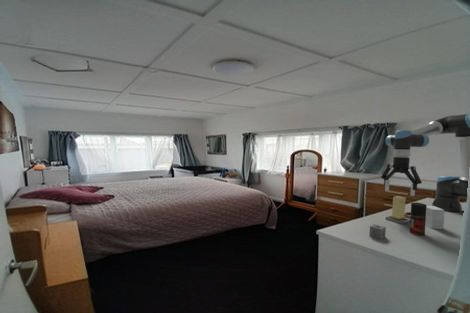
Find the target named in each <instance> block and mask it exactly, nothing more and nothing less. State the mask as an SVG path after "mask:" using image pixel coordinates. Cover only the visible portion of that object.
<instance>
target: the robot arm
mask: <svg viewBox="0 0 470 313" xmlns="http://www.w3.org/2000/svg"><path fill="white" fill-rule="evenodd" d="M394 132H395V133H394V134H391V135H387V136H386V137H385V145H386V146H388V147H393V157H392V158H393V159H392V160H393V161H392V163H393V164H392V163H388V164H386V168H385V170H384V171H383V173H382V175H381V176H380V178H381V179H383V180H384V181H383V184H384V191H385V192H389V191H390V178H392V177H393V176H394V175H395V174H396V173H399V174H404V175H405V176H407V178H408V179H409V181H410V182H411V184H410V194H409V196H410V197H414V196H415V194H416V191H417V190H418V185H421V184H422V183H423V182H422V180H421V177H420V176H419V174H418V172H417V169H416V168H417V167H416V166H415V165H413V166H410V156H411V148H424V147H426V146H427V145H429V143H430V138H429V137H430V136H438V135H443V134H455V138H457V139H458V142H459V154H460V155H459V156H460V164H461V166H460V167H461V176H460V175H459V176H457V175H456V176H455V175H443V176H441V175H440V176H438V177H437V180H436V190H435V192H436V193H435V198H434V199H433V201H432V204H431V206H435V207H438V208H440V209H443V210H444V212H445V211H446V212H453V213H454V212H455V213H460V212H462V211H463V207H462V206H463V205H462V204H461V201H460V197H462V198H466V197H467V188H468V180H469V167H470V113H463V114H457V115H448V116H444V117H441V118H438V119H435V120H433V121H430V122H428V123H427V124H426V125H422V126H419V127H416V128H413V129H410V130H409V129H399V130H395V131H394ZM391 169H392V170H391ZM410 171H411V172H410Z"/></svg>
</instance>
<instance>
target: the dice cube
mask: <svg viewBox="0 0 470 313" xmlns="http://www.w3.org/2000/svg"><path fill="white" fill-rule="evenodd" d="M386 228H387V227H386V226H382V225H379V224H375V223H374V224H372V225H370V226H369V237H371V238H374V239H377V240H383V239H384V238H386Z"/></svg>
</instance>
